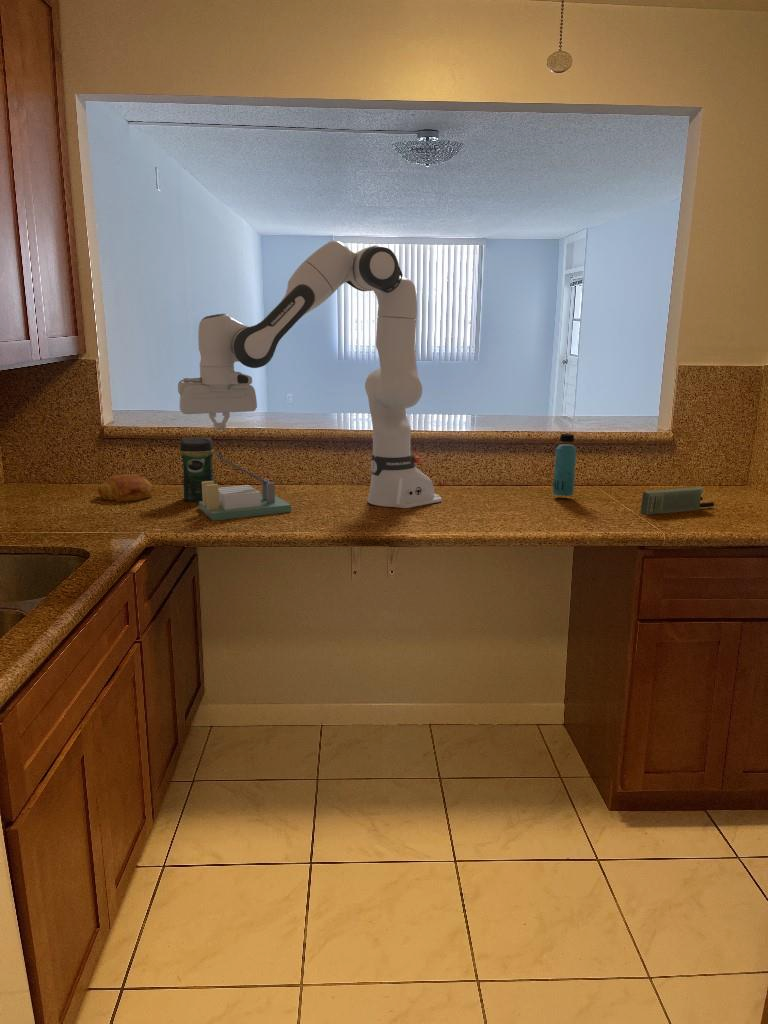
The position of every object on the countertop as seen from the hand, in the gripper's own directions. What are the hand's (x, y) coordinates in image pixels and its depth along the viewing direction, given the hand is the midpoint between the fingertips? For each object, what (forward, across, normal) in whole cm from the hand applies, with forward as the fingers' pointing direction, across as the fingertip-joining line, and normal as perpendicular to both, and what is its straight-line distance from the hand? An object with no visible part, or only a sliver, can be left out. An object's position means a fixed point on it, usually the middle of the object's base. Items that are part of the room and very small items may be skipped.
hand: (219, 429), depth 187 cm
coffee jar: (+23, -2, +19) cm, 30 cm away
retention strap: (+12, +6, 0) cm, 14 cm away
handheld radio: (+24, +118, -54) cm, 132 cm away
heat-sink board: (+23, +6, 0) cm, 24 cm away
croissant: (+24, -21, +31) cm, 44 cm away
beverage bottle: (+23, +98, -28) cm, 105 cm away
